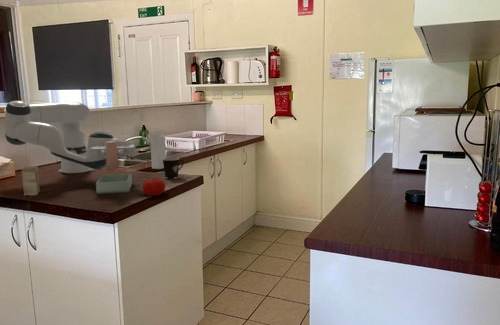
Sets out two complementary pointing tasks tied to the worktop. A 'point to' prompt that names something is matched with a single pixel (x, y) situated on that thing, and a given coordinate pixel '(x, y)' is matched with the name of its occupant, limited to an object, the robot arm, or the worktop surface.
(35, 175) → the block
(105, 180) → the tote
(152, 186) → the tomato
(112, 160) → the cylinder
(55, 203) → the worktop surface
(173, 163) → the coffee mug
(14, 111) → the robot arm
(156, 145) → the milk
